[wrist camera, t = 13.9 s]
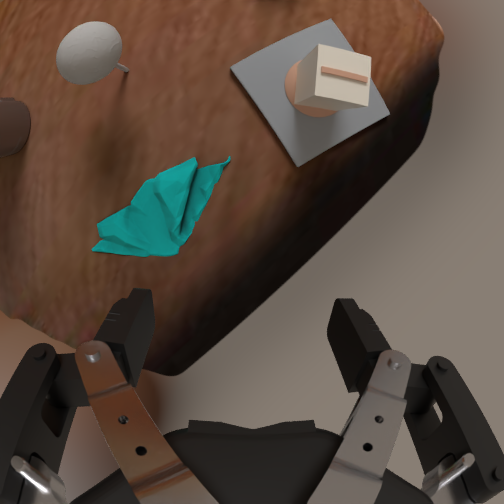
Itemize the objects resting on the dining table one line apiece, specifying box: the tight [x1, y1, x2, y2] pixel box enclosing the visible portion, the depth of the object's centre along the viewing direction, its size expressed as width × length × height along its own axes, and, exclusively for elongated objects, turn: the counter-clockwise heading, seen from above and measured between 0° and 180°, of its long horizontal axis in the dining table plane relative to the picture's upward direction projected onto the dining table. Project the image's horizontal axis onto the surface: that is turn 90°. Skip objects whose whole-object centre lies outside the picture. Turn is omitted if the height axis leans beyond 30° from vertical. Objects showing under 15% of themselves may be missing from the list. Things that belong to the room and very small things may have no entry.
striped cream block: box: [294, 44, 371, 111], centre depth 27 cm, size 6×6×10 cm
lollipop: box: [56, 22, 129, 84], centre depth 23 cm, size 7×7×15 cm
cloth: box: [92, 156, 230, 257], centre depth 38 cm, size 26×14×2 cm, turn 108°
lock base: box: [230, 19, 390, 167], centre depth 30 cm, size 16×16×6 cm
